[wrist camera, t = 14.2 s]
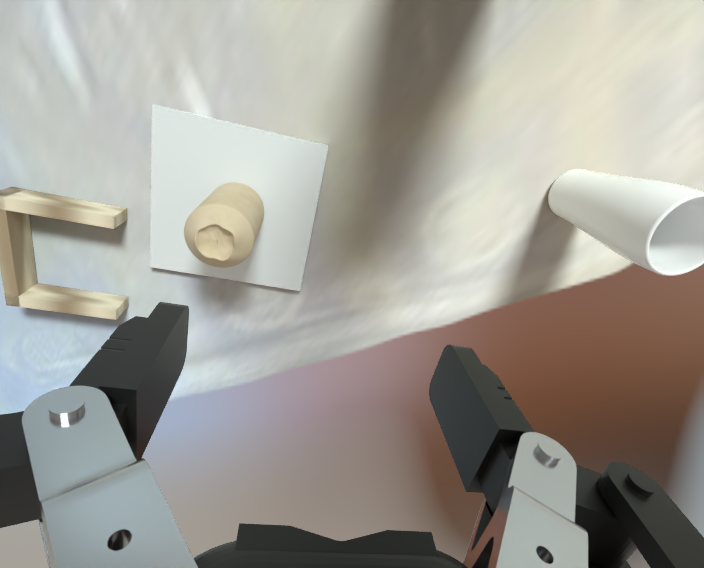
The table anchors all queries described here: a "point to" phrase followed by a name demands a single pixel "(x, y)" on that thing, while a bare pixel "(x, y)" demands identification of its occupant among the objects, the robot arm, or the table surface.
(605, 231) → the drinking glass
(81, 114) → the table surface
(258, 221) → the candle
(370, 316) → the table surface
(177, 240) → the plate
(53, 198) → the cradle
